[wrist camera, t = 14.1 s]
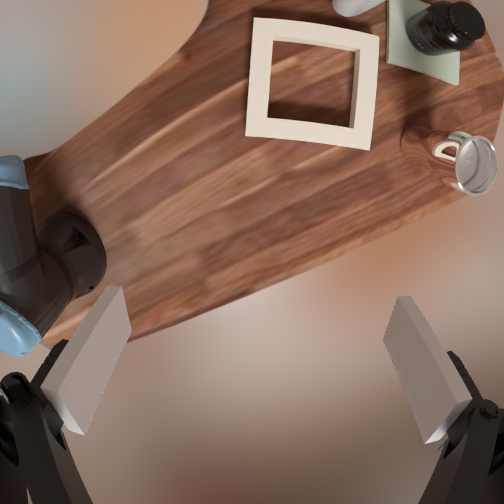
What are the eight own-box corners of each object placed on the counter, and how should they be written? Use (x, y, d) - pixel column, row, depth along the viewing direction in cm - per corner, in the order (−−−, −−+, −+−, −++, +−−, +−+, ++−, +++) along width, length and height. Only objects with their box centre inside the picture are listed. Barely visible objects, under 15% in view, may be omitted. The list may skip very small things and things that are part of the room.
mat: (385, 62, 33) (388, 61, 32) (386, -8, 27) (389, -10, 26) (455, 85, 32) (458, 85, 31) (455, 18, 27) (458, 17, 26)
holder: (246, 134, 38) (245, 135, 36) (254, 22, 31) (253, 17, 29) (363, 148, 38) (369, 150, 36) (373, 40, 31) (379, 36, 29)
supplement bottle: (421, 7, 27) (464, -15, 16) (451, 43, 29) (500, 32, 18) (395, 28, 29) (436, 7, 18) (427, 65, 31) (476, 57, 20)
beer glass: (431, 173, 39) (490, 205, 25) (392, 162, 39) (446, 189, 25) (441, 130, 36) (505, 146, 22) (402, 116, 36) (461, 123, 22)
